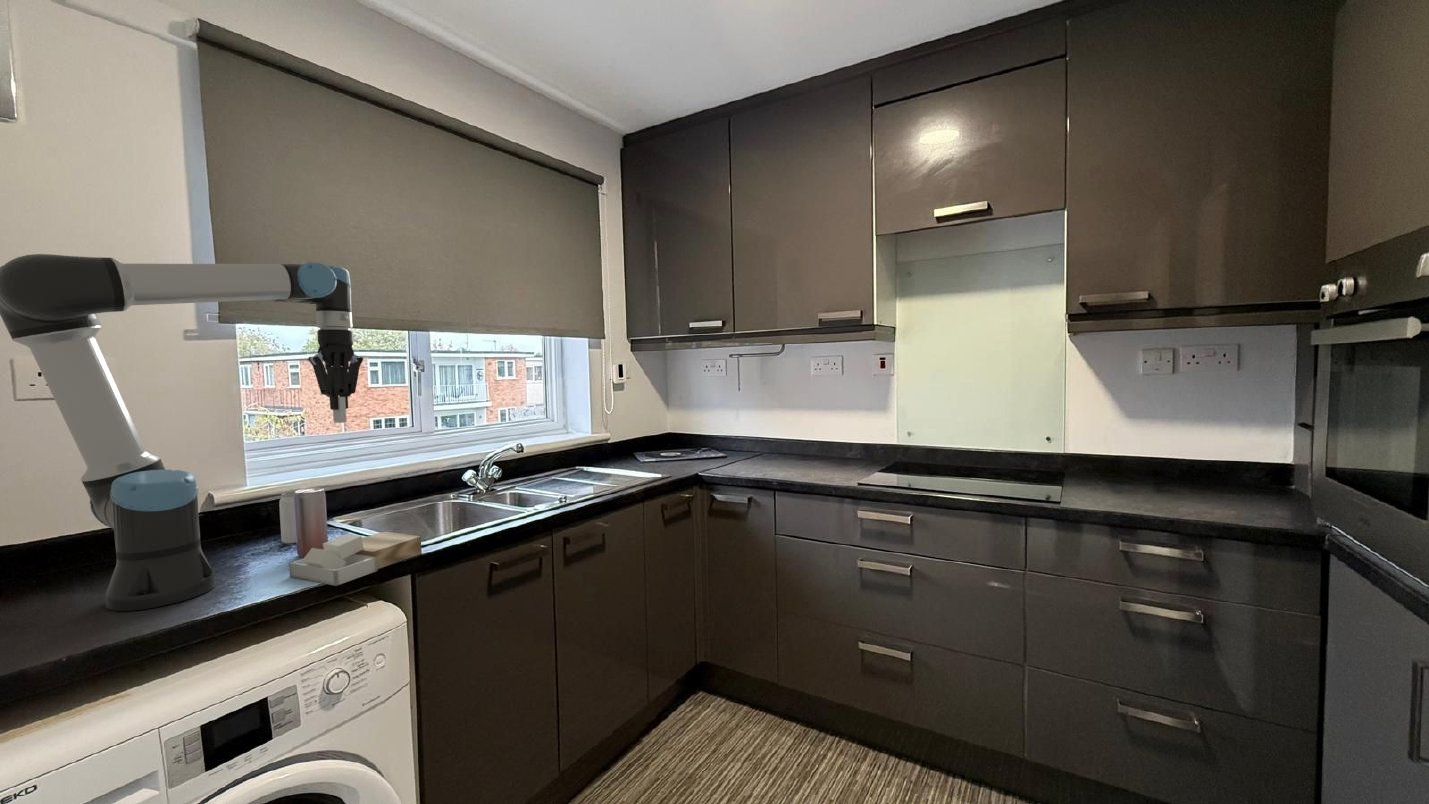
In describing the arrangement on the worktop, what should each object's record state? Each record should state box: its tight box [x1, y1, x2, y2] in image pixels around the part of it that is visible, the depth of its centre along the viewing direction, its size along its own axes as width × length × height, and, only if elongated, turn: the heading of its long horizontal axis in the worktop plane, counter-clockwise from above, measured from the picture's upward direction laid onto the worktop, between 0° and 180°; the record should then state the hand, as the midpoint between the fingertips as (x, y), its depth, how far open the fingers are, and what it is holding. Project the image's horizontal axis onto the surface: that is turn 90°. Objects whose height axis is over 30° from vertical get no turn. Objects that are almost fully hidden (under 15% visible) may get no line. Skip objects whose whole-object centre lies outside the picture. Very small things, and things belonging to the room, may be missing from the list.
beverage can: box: [294, 487, 329, 559], centre depth 135 cm, size 6×6×15 cm
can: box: [278, 491, 297, 545], centre depth 147 cm, size 6×6×12 cm
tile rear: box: [323, 533, 364, 559], centre depth 124 cm, size 5×5×3 cm
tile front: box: [302, 548, 346, 570], centre depth 120 cm, size 5×5×3 cm
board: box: [355, 531, 423, 570], centre depth 132 cm, size 12×12×4 cm
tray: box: [288, 554, 378, 587], centre depth 122 cm, size 9×14×3 cm, turn 68°
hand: (340, 422), depth 149 cm, fingers closed
